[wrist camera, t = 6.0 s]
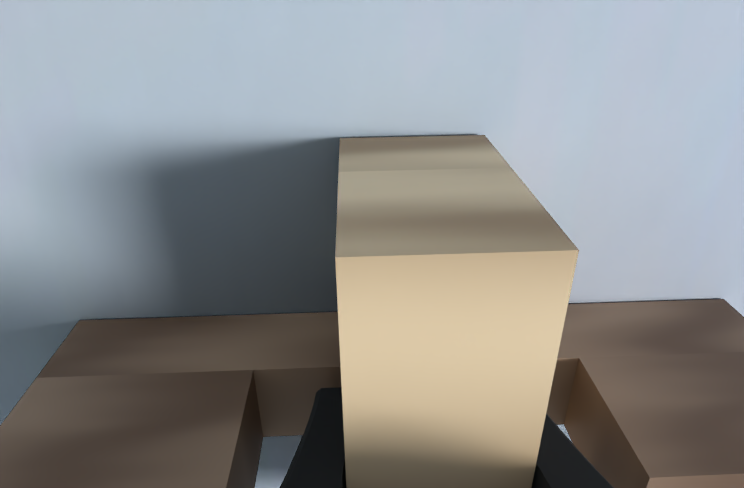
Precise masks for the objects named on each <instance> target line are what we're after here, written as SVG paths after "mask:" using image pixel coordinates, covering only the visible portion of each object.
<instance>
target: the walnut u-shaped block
mask: <svg viewBox="0 0 744 488" xmlns="http://www.w3.org/2000/svg"><path fill="white" fill-rule="evenodd" d="M336 387H342V386H341V365H340V345H339V324H338V312H317V313H287V314H257V315H227V316H197V317H167V318H137V319H107V320H79V321H78V323H77V324H76V325H75V327H74V328H73V329H72V331H71V332H70V333H69V335H68V336H67V337H66V339H65V340H64V341H63V343H62V344H61V345H60V347H59V348H58V349H57V351H56V352H55V353H54V355H53V356H52V357H51V359H50V360H49V361H48V363H47V364H46V365H45V367H44V368H43V369H42V371H41V372H40V373H39V375H38V376H37V377H36V379H35V380H34V381H33V383H32V384H31V385H30V387H29V388H28V389H27V391H26V392H25V393H24V395H23V396H22V397H21V399H20V400H19V401H18V403H17V404H16V405H15V407H14V408H13V409H12V411H11V412H10V413H9V415H8V416H7V417H6V419H5V420H4V421H3V423H2V424H1V425H0V488H254V487H255V481H256V475H257V470H258V464H259V458H260V453H261V447H262V441H263V437H269V436H294V435H303V434H304V431H305V428H306V426H307V423H308V420H309V417H310V414H311V411H312V407H313V404H314V400H315V395H316V392H317V391H318V390H320V389H321V388H336ZM546 413H547V414H548V416H549V417H550V418H551V419H552V420H553V422H554V423H555V424H556V425H561V424H564V426H565V428H566V430H567V432H568V434H569V436H570V438H571V440H572V443H573V445H574V446H575V447H576V448H577V449H578V450H579V451H580V452H581V453H582V454H583V455H584V457H585V458H586V459H587V460H588V461H589V462H590V463H591V464H592V465H593V466H594V467H595V469H596V470H597V471H598V472H599V473H600V474H601V475H602V476H603V477H604V478H605V479H606V480H607V481H608V482H609V483H610V484H611V485H612V486H613V487H614V488H744V317H743V316H742V315H741V314H740V313H739V312H738V311H736V310H735V309H734V308H733V307H732V306H731V305H730V304H729V303H727V302H726V301H725V300H724V299H708V300H678V301H648V302H618V303H588V304H568V307H567V312H566V317H565V322H564V327H563V332H562V337H561V342H560V347H559V352H558V357H557V362H556V367H555V372H554V377H553V382H552V387H551V392H550V397H549V402H548V407H547V412H546Z"/></svg>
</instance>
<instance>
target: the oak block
mask: <svg viewBox="0 0 744 488" xmlns="http://www.w3.org/2000/svg"><path fill="white" fill-rule="evenodd" d="M578 252H579V250H578V249H577V247H576V246H575V245H574V244H573V243H572V241H571V240H570V239H569V238H568V236H567V235H566V234H565V233H564V232H563V230H562V229H561V228H560V227H559V225H558V224H557V223H556V222H555V221H554V219H553V218H552V217H551V216H550V214H549V213H548V212H547V211H546V210H545V208H544V207H543V206H542V205H541V203H540V202H539V201H538V200H537V199H536V197H535V196H534V195H533V194H532V192H531V191H530V190H529V189H528V188H527V186H526V185H525V184H524V183H523V181H522V180H521V179H520V178H519V177H518V175H517V174H516V173H515V172H514V170H513V169H512V168H511V167H510V166H509V164H508V163H507V162H506V161H505V160H504V158H503V157H502V156H501V155H500V153H499V152H498V151H497V150H496V149H495V147H494V146H493V145H492V144H491V142H490V141H489V140H488V139H487V138H486V136H485V135H462V136H416V137H370V138H340V145H339V172H338V198H337V225H336V251H335V262H336V283H337V304H338V324H339V345H340V365H341V386H342V406H343V427H344V447H345V468H346V488H531V487H532V482H533V477H534V472H535V467H536V462H537V457H538V452H539V447H540V442H541V437H542V432H543V427H544V422H545V417H546V412H547V407H548V402H549V397H550V392H551V387H552V382H553V377H554V372H555V367H556V362H557V357H558V352H559V347H560V342H561V337H562V332H563V327H564V322H565V317H566V312H567V307H568V302H569V297H570V292H571V287H572V282H573V277H574V272H575V267H576V262H577V257H578Z"/></svg>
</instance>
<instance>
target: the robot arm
mask: <svg viewBox="0 0 744 488" xmlns="http://www.w3.org/2000/svg"><path fill="white" fill-rule="evenodd" d="M280 488H346V468H345V447H344V427H343V406H342V387H336V388H321V389H320V390H318V391H317V392H316V395H315V400H314V404H313V407H312V411H311V414H310V417H309V420H308V423H307V426H306V428H305V431H304V434H303V436H302V439H301V442H300V444H299V446H298V449H297V451H296V453H295V456H294V458H293V460H292V462H291V465H290V467H289V469H288V472H287V474H286V476H285V478H284V480H283V482H282V484H281V486H280ZM531 488H614V487H613V486H612V485H611V484H610V483H609V482H608V481H607V480H606V479H605V478H604V477H603V476H602V475H601V474H600V473H599V472H598V471H597V470H596V469H595V467H594V466H593V465H592V464H591V463H590V462H589V461H588V460H587V459H586V458H585V457H584V455H583V454H582V453H581V452H580V451H579V450H578V449H577V448H576V447H575V446H574V445H573V443H572V442H571V441H570V440H569V439H568V438H567V437H566V435H565V434H564V433H563V432H562V431H561V430H560V429H559V427H558V426H557V425H556V424H555V423H554V422H553V420H552V419H551V418H550V417H549V416H548V414H547V413H546V417H545V422H544V427H543V432H542V437H541V442H540V447H539V452H538V457H537V462H536V467H535V472H534V477H533V482H532V487H531Z"/></svg>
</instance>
